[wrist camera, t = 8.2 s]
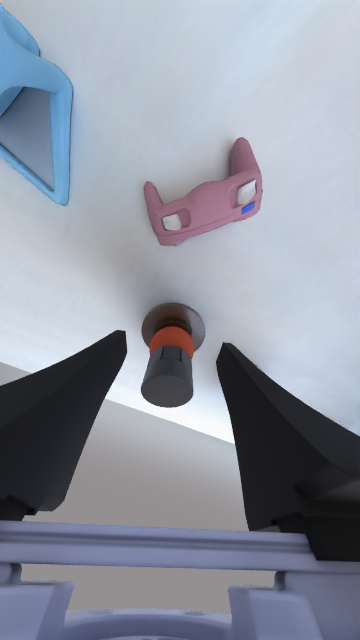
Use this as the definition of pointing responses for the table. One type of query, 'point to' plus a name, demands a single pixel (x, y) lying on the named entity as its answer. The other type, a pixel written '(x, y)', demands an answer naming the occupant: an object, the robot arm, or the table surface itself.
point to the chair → (33, 71)
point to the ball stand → (174, 322)
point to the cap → (168, 377)
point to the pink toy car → (209, 201)
